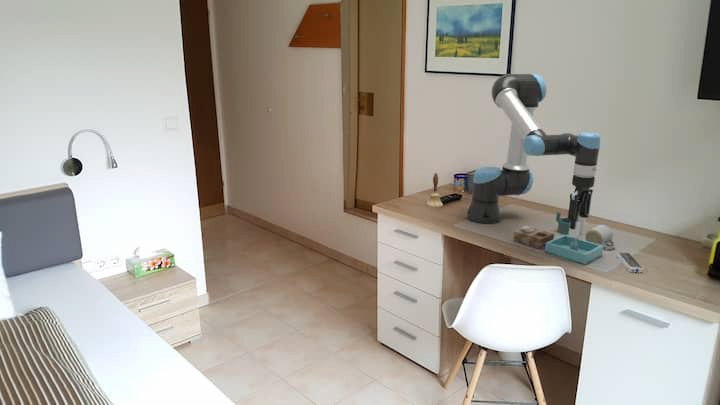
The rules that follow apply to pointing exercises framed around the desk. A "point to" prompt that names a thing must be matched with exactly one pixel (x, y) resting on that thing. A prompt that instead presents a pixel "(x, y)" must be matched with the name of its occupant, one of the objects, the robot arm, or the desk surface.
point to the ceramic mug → (601, 236)
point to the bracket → (563, 224)
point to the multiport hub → (629, 262)
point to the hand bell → (435, 195)
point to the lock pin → (575, 239)
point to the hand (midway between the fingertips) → (575, 234)
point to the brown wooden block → (533, 237)
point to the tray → (582, 256)
